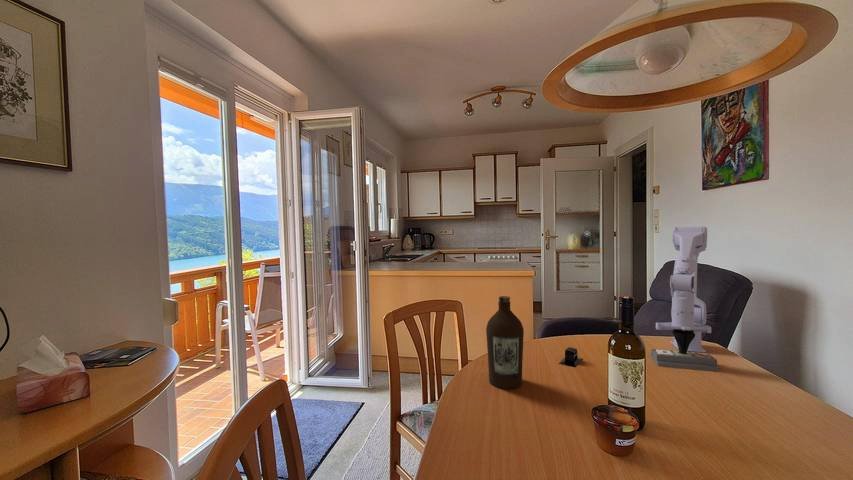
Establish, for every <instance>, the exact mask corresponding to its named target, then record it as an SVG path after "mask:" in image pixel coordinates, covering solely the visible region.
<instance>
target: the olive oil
mask: <svg viewBox="0 0 853 480" xmlns="http://www.w3.org/2000/svg"><path fill="white" fill-rule="evenodd" d="M524 331H525V330H524V326H523V323H522V321H521V320H520V319H519V317H517V315H515V313H514V312H513V311H512V310H511V297H510V296H508V295H500V296H498V310H497V311H496V312H495V313H494V314H493V315H492V316H491V317H490V318H489V320H488V322H487V324H486V328H485V333H486V348H487V364H488V365H487V366H488V381H489V384H491V386H494V387H495V388H499V389H502V390H503V389H504V390H513V389H517V388H519V387H521V385H523V354H524V353H523V352H524V336H525V335H524V334H525V333H524Z"/></svg>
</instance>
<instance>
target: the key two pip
mask: <svg viewBox="0 0 853 480" xmlns="http://www.w3.org/2000/svg"><path fill="white" fill-rule="evenodd" d="M688 352H689V351H687V353H686V354H681V353H680V352H679V350H674V351H673V353H675V354H676V355H677V356H685V357H693V356H692V355H691V354H690V353H688Z"/></svg>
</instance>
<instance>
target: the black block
mask: <svg viewBox="0 0 853 480" xmlns="http://www.w3.org/2000/svg"><path fill="white" fill-rule="evenodd" d="M583 361H584V358H581V357H578V348H576V347H575V348H574V347H569V346H568V347H567V348H566V349H565V350H564V357H563V359H561V360H560V361H559V362H558V365H562V366H568V367H570V368H572V367H573V368H575V369H576V368H577V367H578V366H579V365H580V364H581V363H582V362H583Z"/></svg>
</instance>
